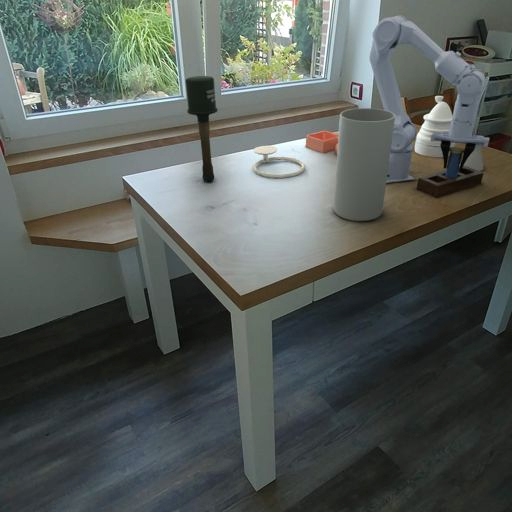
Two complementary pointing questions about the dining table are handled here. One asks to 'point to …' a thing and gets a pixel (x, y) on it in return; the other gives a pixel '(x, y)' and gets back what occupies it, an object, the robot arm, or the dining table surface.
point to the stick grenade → (202, 115)
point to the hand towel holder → (270, 150)
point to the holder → (449, 182)
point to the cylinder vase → (362, 162)
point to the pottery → (322, 141)
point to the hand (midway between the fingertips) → (452, 168)
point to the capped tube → (454, 162)
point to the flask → (475, 159)
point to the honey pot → (434, 129)
